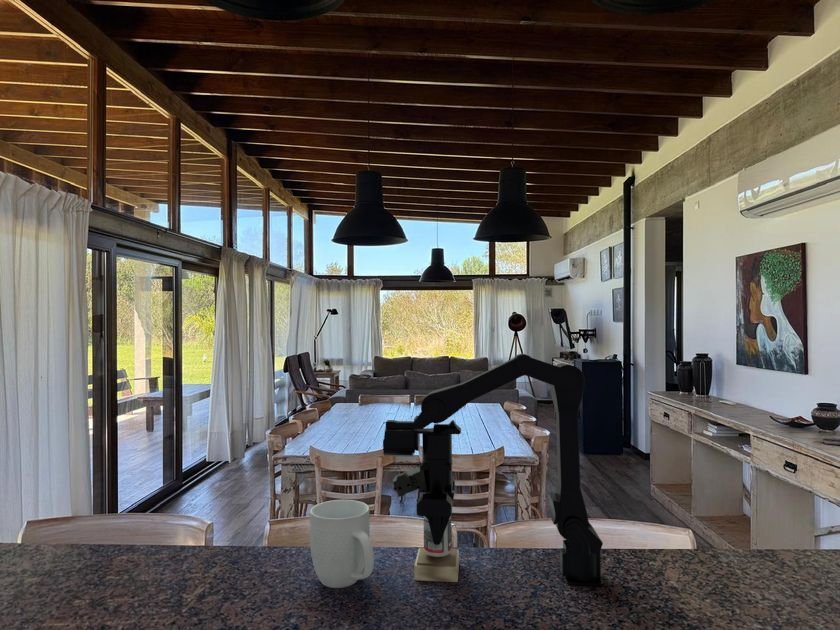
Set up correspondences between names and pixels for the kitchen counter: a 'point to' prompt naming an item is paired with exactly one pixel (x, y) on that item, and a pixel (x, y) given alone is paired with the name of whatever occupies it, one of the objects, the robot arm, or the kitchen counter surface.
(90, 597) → the kitchen counter surface
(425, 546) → the pill bottle
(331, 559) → the mug
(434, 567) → the plinth
